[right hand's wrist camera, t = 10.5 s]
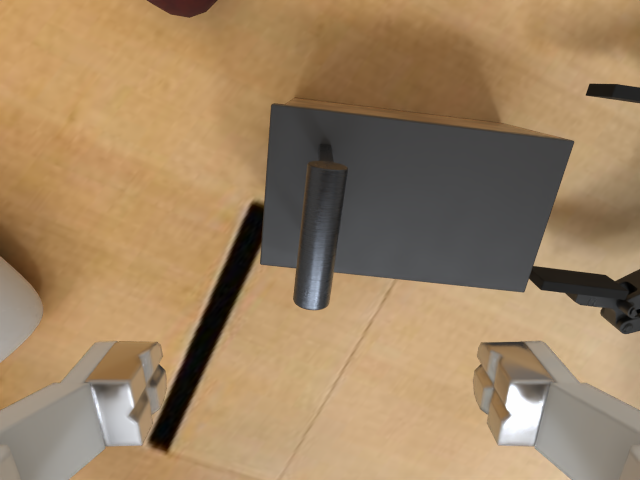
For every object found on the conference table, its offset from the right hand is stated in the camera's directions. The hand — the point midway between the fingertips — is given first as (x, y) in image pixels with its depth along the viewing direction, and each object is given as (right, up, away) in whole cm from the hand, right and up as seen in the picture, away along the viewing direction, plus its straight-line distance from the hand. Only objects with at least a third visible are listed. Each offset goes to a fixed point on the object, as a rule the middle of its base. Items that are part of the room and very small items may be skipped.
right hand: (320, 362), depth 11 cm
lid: (+6, +6, +16) cm, 18 cm away
